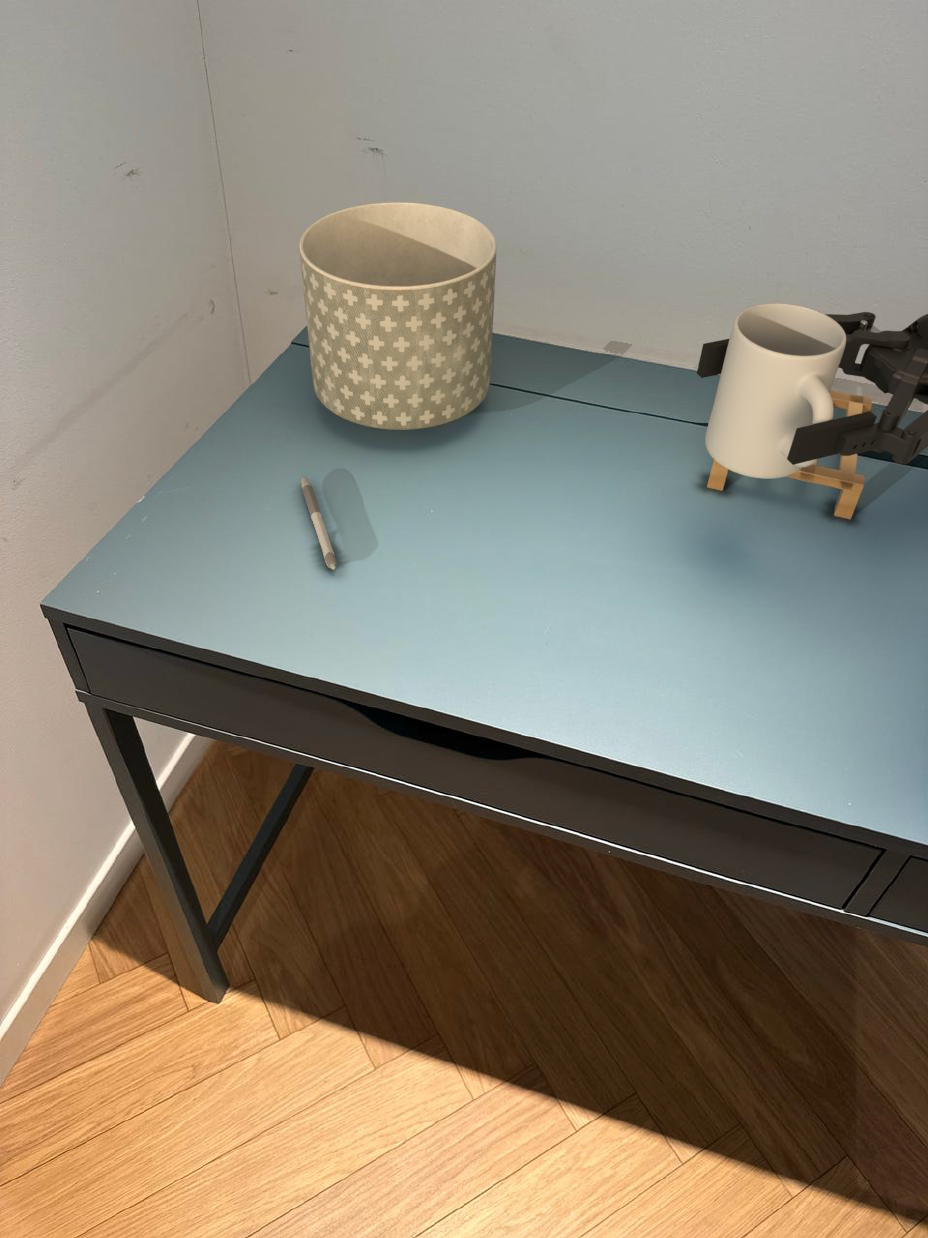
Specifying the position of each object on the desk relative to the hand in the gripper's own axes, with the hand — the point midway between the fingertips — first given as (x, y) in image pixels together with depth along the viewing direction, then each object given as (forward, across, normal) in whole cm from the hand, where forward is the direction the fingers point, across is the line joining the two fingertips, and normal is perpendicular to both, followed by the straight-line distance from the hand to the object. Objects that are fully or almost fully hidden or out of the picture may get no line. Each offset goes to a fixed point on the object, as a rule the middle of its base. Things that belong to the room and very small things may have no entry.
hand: (745, 401), depth 74 cm
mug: (-4, 0, -7) cm, 8 cm away
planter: (+16, +36, -19) cm, 43 cm away
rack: (-18, +13, -18) cm, 29 cm away
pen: (+30, +19, -19) cm, 40 cm away
